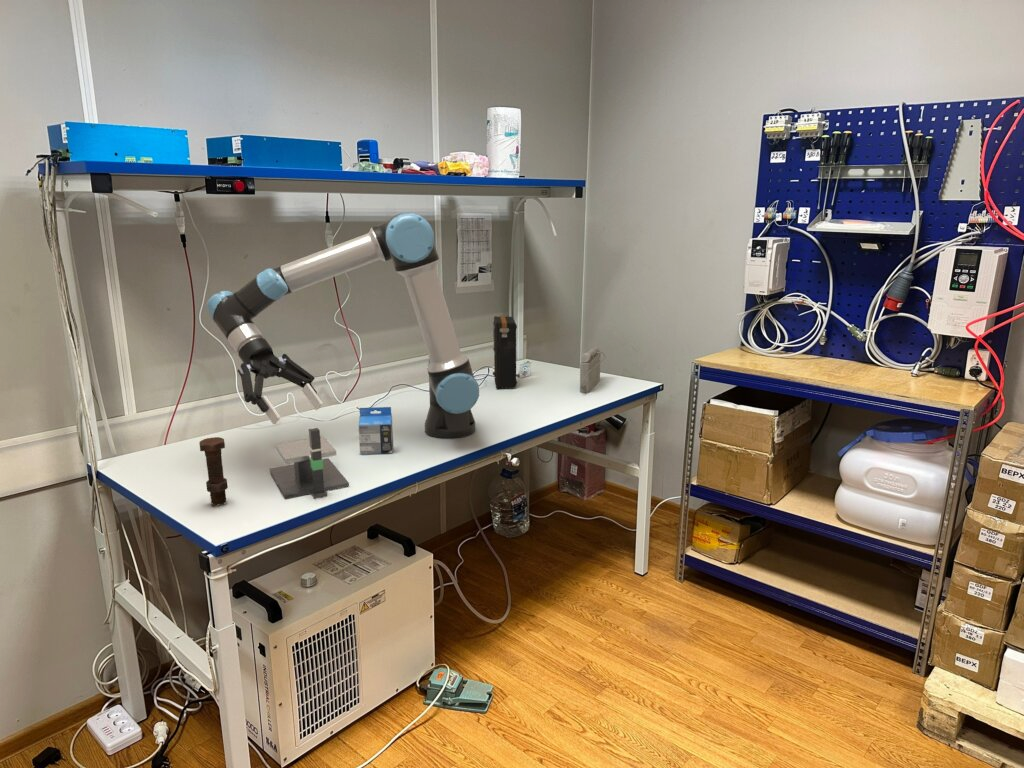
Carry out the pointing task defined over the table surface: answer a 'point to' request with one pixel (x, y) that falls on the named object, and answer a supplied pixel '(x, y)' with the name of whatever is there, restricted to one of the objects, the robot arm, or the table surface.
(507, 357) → the black case
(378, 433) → the label tape box
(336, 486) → the stand
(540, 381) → the table surface
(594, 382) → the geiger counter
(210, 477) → the bolt
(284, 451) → the pan
